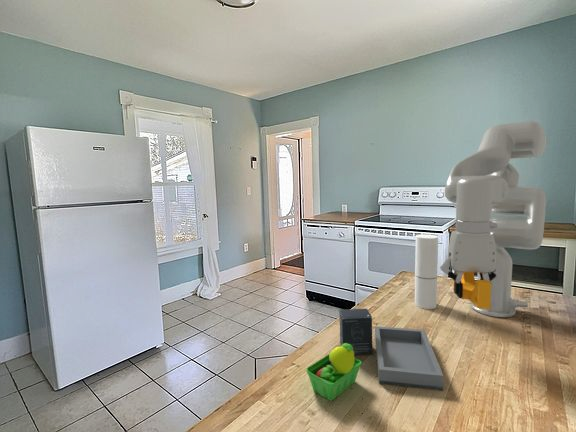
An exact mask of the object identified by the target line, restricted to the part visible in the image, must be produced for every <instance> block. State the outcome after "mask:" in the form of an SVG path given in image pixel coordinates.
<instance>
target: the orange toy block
mask: <svg viewBox="0 0 576 432" xmlns="http://www.w3.org/2000/svg"><path fill="white" fill-rule="evenodd" d="M452 280H453V279H452ZM452 282H453V284H452V286H453V287H452V290H453V291H454V280H453V281H452ZM461 283H462V284H463V297H462V298H460V299H461V300H469V301H470V303H471V302H472V303H473V304H474V305H475V306H476V307H477V308H478V309H490V300H491V282H489V281H488V280H477V279H475V272H464V273H463V276H462V279H461Z"/></svg>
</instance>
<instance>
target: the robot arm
mask: <svg viewBox="0 0 576 432" xmlns="http://www.w3.org/2000/svg"><path fill="white" fill-rule="evenodd" d="M546 137H547V135H546V134H545V131H544V128H543V127H542V125H541V124H540V123H539V122H537V121H533V120H528V121H527V120H525V121H518V122H511V123H502V124H497V125H493V126H491V127H489V128H487V130H486V131H485V132H484V134H483V136H482V139H481V141H480V144H479V147H478V148H477V151H476V152H475V153H473V154H471V155H469V156H468V157H466V158H464V159H461V160H460V161H459V162H458V163H456V164H455V165H454V166H453V167H452V169H451V171H450V173H449V175H448V178H447V180H446V183H445V186H444V196H445V198H446V199H447V200H448V201H449V202H450V203H452V204H455V205H456V207H455V228H454V229H455V230H452V231H451V233H450V238H449V242H448V251H447V259H446V260H445V261H444V262H443V263H442V265H440V268H439V269H440V270H441V271H442V272H443V273H445V274H446V275H448V276H449V277H450V278H451V280H454V290H453V293H454V294H455V295H456V296H457V298H459V299H461V298H462V297H463V284H462V283H461V279H462V276H463V273H464V272H474V273H477V277H476V280H488V281H489V282H491V300H490V309H478V308H477V307H476V306H475V305H474V304H473V303H472V302H471V301H470V307H471V308H472V309H473V310H474V311H476V312H478V313H480V314H482V315H485V316H490V317H495V318H510V317H514V316H515V315H516V313H517V311H516V310H517V309H516V308H528V306H529V305H528V302H527V301H524V300H522V301H520V299H519V298H511V295H512V278H513V277H512V276H513V259H512V256H511V255H510V254H509V252H508V251H507V250H506V248H509V249H510V248H512V249H520V250H536V249H538V248H540V247H541V246H542V243H543V239H544V232H545V231H544V230H545V219H546V206H547V199H546V194H545V191H544V190H543V189H542V188H540V187H539V186H538V187H537V186H519V180H520V173H519V172H518V170H517V169H516V168H515V166H513V164H511V163H510V160H512V159H513V160H514V159H527V158H538V157H541V156H542V155H543V153H544V152H545V150H546V148H547V138H546ZM492 214H493V215H499V216H492ZM501 216H502V217H501ZM503 216H504V217H503ZM505 216H514V217H505ZM515 216H518V217H525V218H515ZM450 267H451V270H450Z"/></svg>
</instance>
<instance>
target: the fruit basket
mask: <svg viewBox="0 0 576 432" xmlns="http://www.w3.org/2000/svg"><path fill="white" fill-rule="evenodd" d="M361 365H362V361H361V360H360V359H357V358H356V357H355V355H354V351H353V347H352V346H351V345H350V344H347V343H344V344H342V346H341V345H340V346H337V347H334V348H333V349H332V350H331V351H330V353H328V354H326V356H324V357H321V358H320V359H319V360H318V361H316V362H315V363H312V364H311V365H309V366H308V367H307V368H306V369H305V370H306V373H307V375H308V377H309V381H310V383H311V387H312V389H313V391H314V392H316V393H318V394H319V395H320V396H322V397H323V398H325V399H327V400H328V401H329V402H332V401H333V400H335V399H336V397H338V396H340V395H341V394H342V393H343V392H344V391H346V390H347V389H348V388H349V387H350V386H352V385H354V384H355V383H356V380H357V376H358V374H359V369H360V368H361Z"/></svg>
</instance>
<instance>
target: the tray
mask: <svg viewBox="0 0 576 432" xmlns="http://www.w3.org/2000/svg"><path fill="white" fill-rule="evenodd" d="M374 343H375V344H374V346H375V354H376V355H375V356H376V367H377V375H378V376H377V378H378V385H379V384H380V385H387V386H397V387H406V388H414V389H424V390H433V391H442V392H443V391H444V374H443V372H442V369H441V366H440V364H439V361H438V359H437V357H436V355H435V352H434V350H433V348H432V345H431V342H430V340H429V338H428V335H427V333H426V331H425V329H421V328H420V329H419V328H418V329H417V328H405V327H404V328H403V327H390V326H378V325H377V326H376V325H375V326H374Z"/></svg>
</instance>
